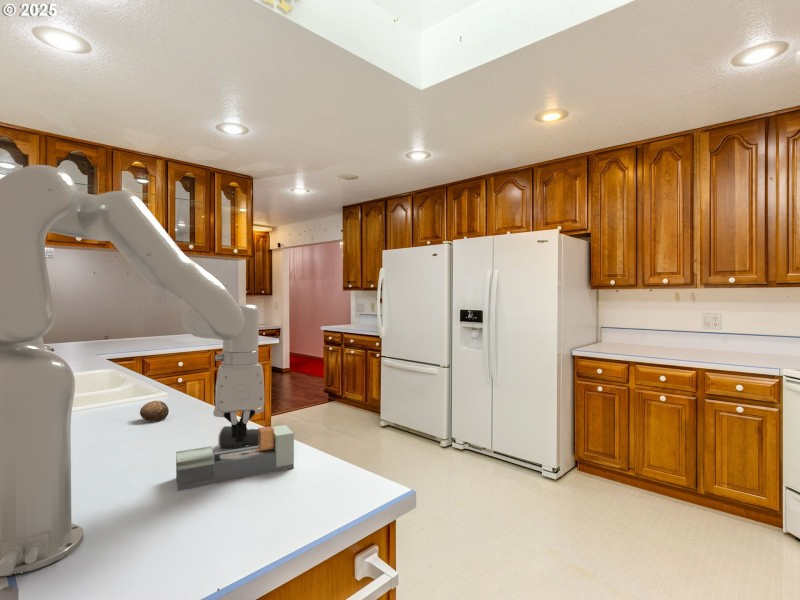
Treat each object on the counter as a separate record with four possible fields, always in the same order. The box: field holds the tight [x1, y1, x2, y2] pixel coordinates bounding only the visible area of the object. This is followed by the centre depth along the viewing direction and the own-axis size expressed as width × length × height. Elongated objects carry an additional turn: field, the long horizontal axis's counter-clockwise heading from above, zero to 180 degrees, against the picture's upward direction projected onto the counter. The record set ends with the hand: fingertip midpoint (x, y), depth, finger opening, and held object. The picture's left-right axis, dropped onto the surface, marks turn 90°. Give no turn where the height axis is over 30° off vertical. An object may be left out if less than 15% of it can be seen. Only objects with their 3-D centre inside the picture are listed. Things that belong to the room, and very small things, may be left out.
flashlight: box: [217, 425, 258, 449], centre depth 114 cm, size 15×5×5 cm, turn 91°
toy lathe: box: [175, 424, 295, 492], centre depth 98 cm, size 24×7×8 cm, turn 119°
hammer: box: [219, 425, 275, 461], centre depth 99 cm, size 14×3×8 cm, turn 119°
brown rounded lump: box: [139, 400, 170, 423], centre depth 137 cm, size 8×8×6 cm
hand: (238, 440), depth 98 cm, fingers closed
